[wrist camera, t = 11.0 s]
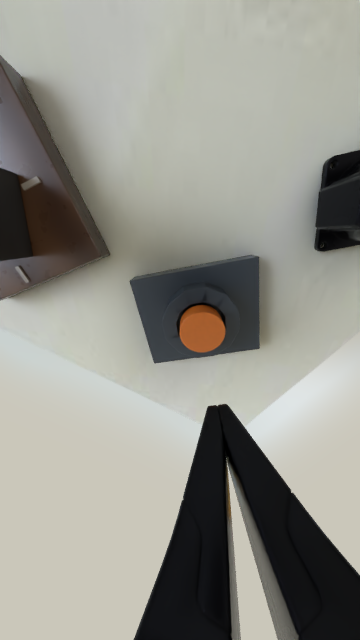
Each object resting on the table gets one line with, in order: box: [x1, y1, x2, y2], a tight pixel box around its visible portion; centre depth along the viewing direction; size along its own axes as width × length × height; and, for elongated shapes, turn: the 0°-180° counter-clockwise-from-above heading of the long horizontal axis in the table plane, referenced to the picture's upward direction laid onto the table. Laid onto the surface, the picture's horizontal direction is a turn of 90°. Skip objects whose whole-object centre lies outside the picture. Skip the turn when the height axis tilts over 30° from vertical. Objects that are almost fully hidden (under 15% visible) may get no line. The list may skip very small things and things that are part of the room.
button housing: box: [130, 255, 260, 363], centre depth 17 cm, size 11×9×4 cm
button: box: [180, 305, 225, 352], centre depth 15 cm, size 4×4×2 cm
